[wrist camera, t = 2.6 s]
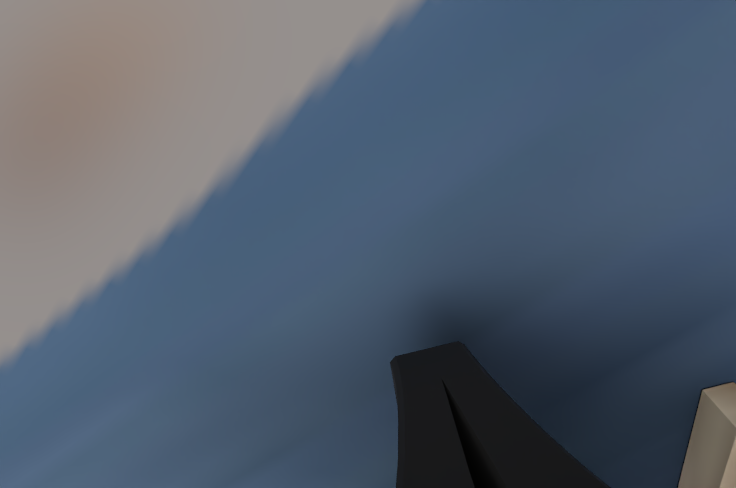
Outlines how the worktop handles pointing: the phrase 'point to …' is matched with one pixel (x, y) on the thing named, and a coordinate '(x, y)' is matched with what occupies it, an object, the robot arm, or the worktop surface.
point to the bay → (712, 441)
